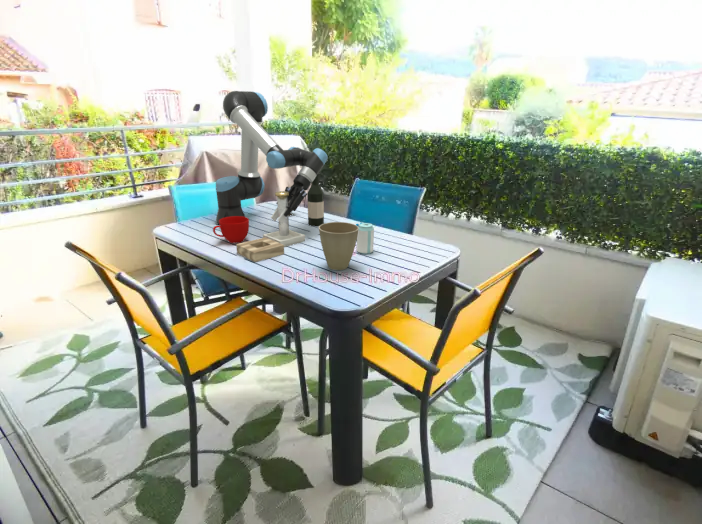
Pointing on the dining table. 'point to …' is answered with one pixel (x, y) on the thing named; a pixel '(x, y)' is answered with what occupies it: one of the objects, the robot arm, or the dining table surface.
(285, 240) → the tray
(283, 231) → the pin
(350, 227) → the plant pot
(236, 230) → the ceramic cup
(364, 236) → the can
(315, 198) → the wine bottle
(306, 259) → the dining table surface
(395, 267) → the dining table surface
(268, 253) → the socket block
